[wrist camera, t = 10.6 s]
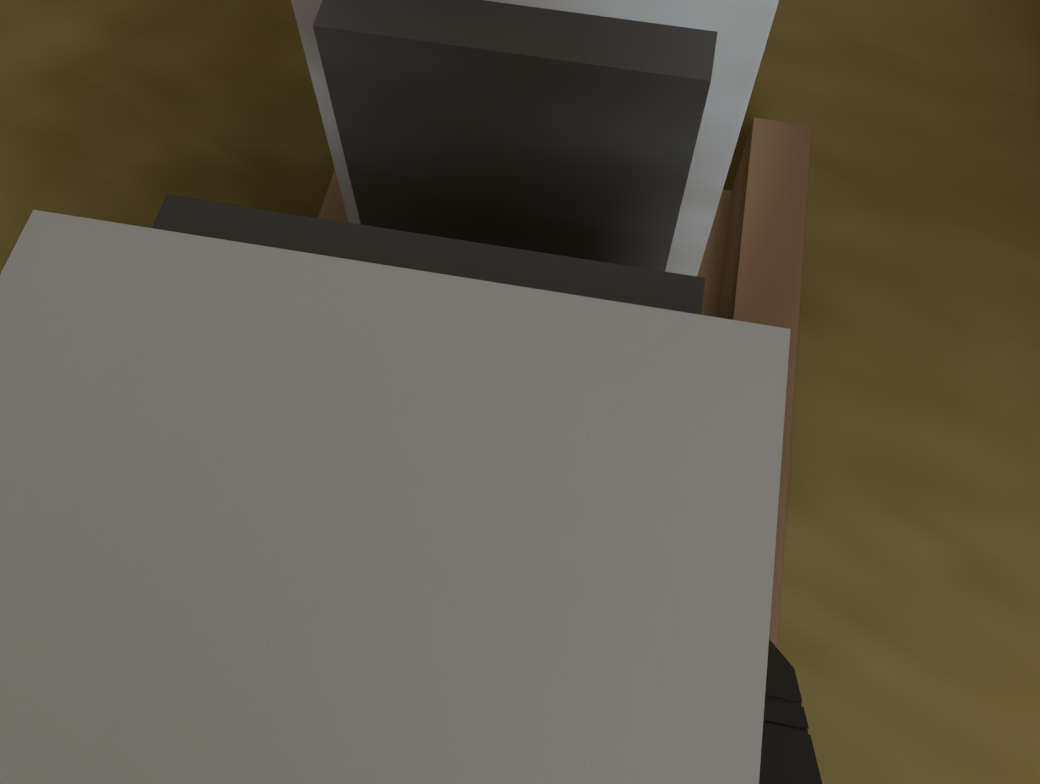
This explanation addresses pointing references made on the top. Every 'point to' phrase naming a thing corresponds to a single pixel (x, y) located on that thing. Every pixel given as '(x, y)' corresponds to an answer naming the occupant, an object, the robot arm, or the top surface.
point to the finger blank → (376, 510)
